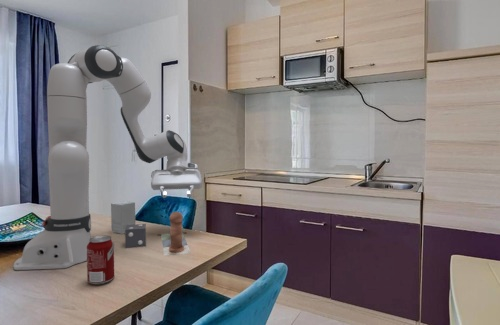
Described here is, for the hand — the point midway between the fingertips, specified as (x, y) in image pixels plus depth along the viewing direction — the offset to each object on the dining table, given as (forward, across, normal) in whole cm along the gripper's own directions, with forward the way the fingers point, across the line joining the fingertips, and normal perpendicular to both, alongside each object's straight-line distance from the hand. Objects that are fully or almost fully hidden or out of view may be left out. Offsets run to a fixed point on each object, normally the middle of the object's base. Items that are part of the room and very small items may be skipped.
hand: (176, 196), depth 121 cm
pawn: (+21, 0, +4) cm, 21 cm away
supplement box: (-1, -24, +26) cm, 35 cm away
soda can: (+36, -20, -11) cm, 43 cm away
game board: (+15, -1, +10) cm, 18 cm away
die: (+14, -15, +11) cm, 23 cm away
